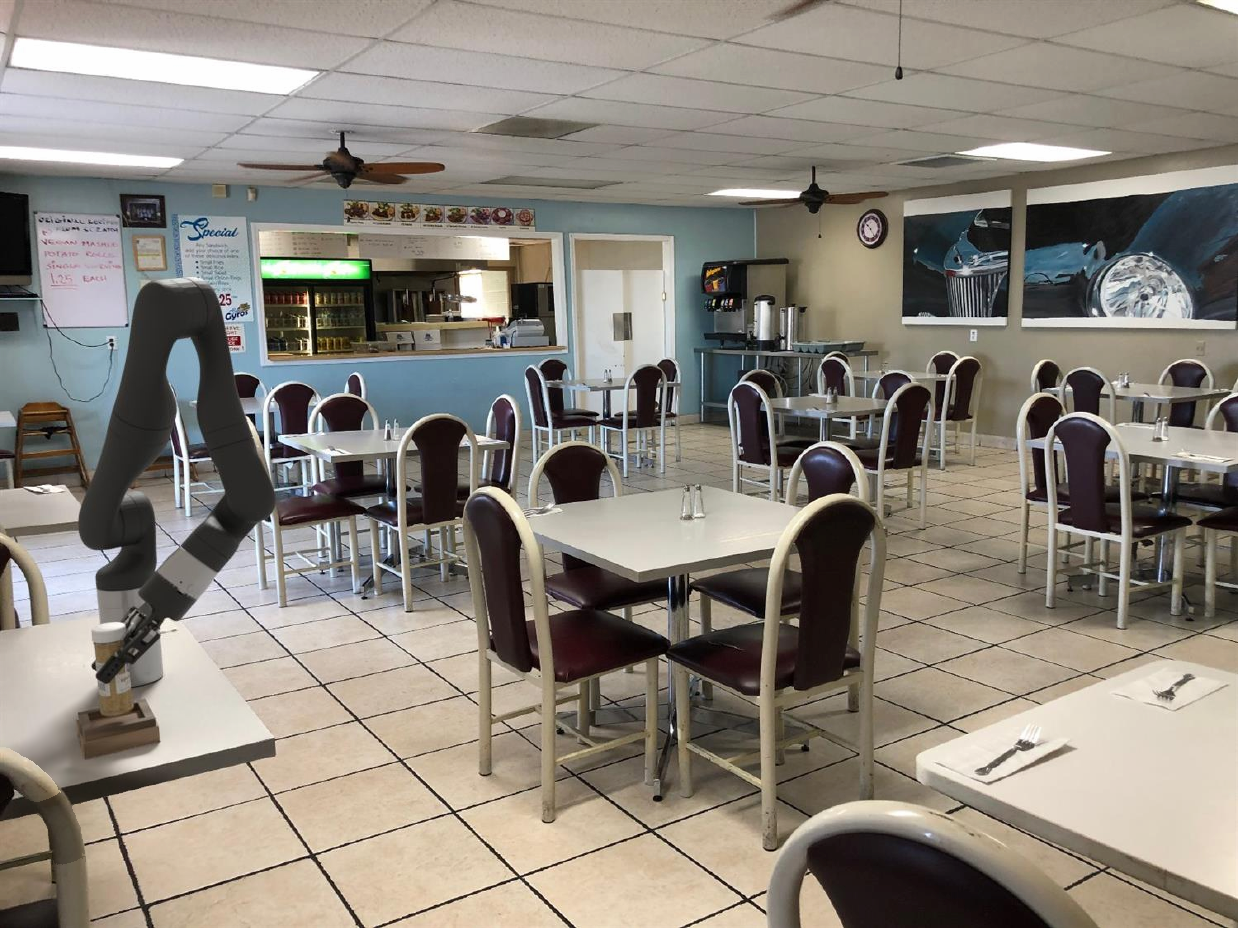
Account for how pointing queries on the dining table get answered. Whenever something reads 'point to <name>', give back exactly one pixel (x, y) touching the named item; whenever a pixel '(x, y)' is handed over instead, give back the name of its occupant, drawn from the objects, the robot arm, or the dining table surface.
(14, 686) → the dining table surface
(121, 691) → the sprinkles bottle
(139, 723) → the walnut plinth
